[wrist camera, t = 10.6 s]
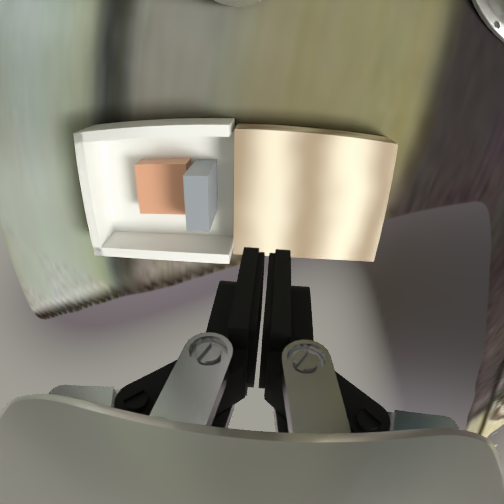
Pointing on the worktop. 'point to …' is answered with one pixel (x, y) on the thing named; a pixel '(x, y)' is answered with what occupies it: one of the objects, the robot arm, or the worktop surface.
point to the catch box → (126, 197)
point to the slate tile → (201, 194)
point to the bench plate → (310, 190)
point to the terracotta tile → (161, 185)
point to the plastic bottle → (238, 2)
